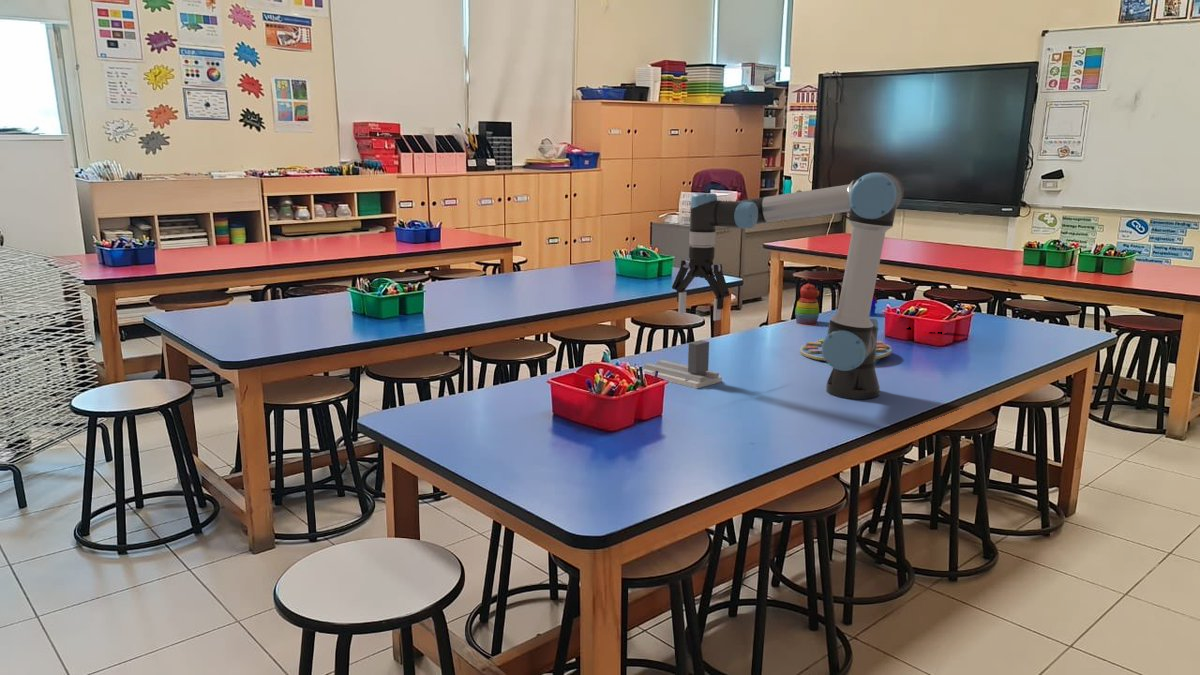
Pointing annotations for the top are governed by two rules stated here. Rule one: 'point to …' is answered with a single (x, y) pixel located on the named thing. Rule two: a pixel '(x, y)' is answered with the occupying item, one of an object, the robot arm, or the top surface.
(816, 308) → the stacking bear
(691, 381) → the panel
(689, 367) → the fader
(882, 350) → the shape sorting clock
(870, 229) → the robot arm
